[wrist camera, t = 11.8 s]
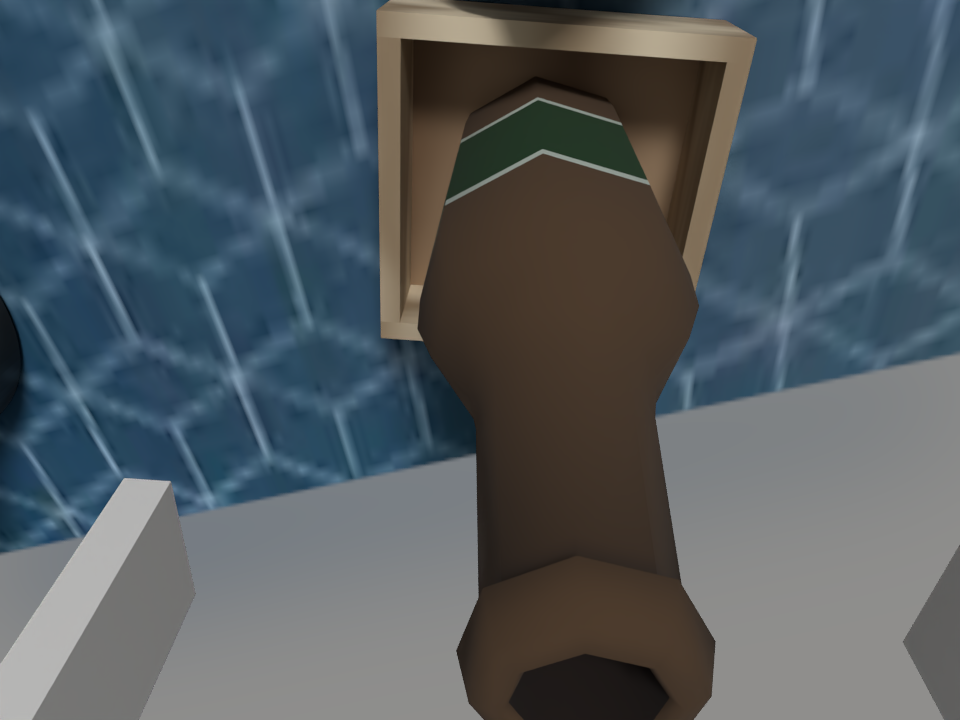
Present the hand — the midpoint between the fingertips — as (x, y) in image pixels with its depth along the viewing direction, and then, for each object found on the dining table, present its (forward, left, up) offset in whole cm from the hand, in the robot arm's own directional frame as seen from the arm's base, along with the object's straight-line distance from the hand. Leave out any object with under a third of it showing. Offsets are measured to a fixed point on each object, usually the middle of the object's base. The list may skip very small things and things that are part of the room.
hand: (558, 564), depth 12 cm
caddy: (0, 0, -22) cm, 22 cm away
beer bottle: (0, 0, -21) cm, 21 cm away
